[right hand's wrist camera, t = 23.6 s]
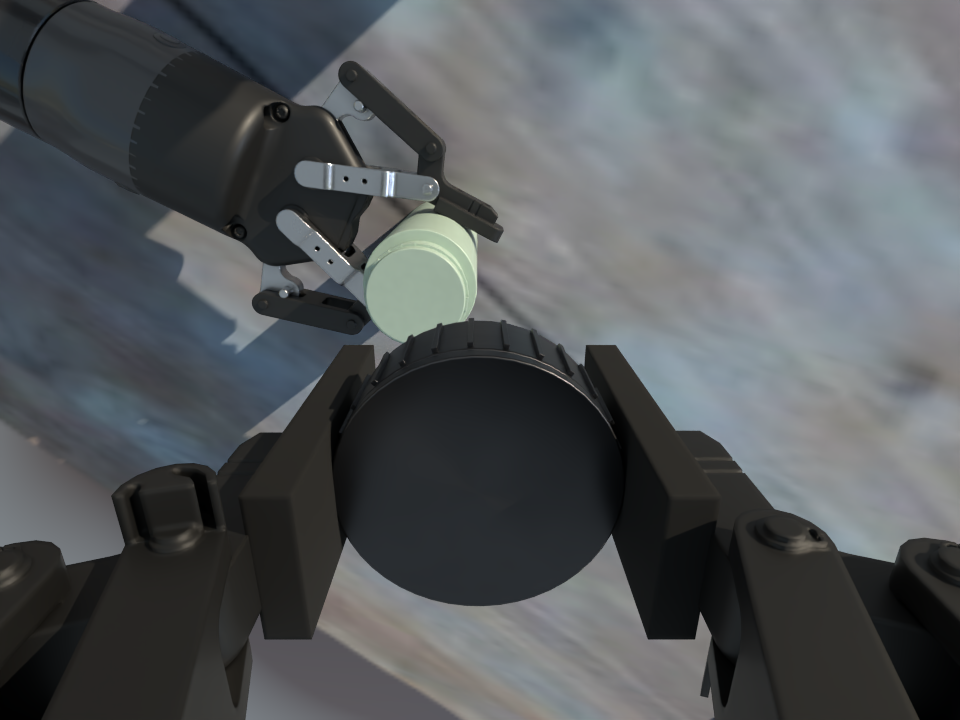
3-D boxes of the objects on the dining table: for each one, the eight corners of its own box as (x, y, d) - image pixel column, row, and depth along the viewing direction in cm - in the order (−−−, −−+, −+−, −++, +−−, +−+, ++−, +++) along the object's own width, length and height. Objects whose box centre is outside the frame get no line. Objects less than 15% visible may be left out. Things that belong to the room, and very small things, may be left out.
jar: (399, 269, 37) (350, 347, 22) (406, 194, 35) (357, 227, 21) (471, 279, 37) (467, 362, 23) (482, 205, 35) (484, 245, 21)
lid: (322, 500, 13) (294, 564, 11) (394, 276, 11) (375, 304, 9) (545, 568, 13) (556, 639, 11) (649, 368, 11) (683, 413, 10)
